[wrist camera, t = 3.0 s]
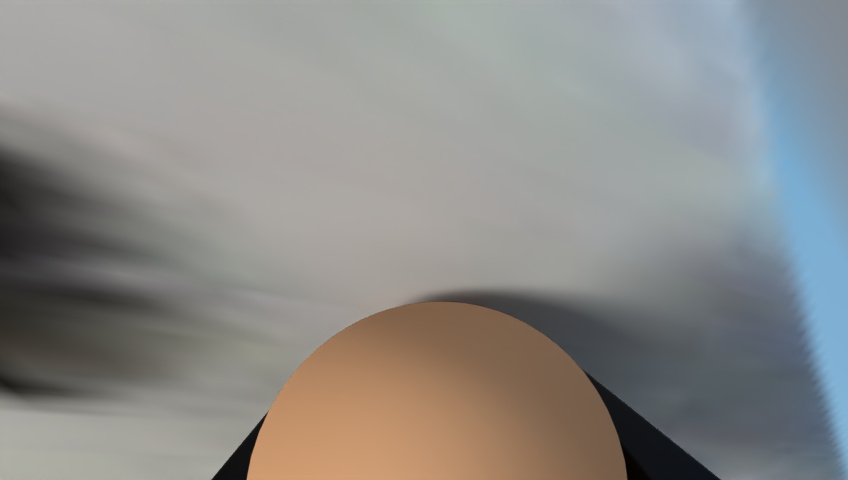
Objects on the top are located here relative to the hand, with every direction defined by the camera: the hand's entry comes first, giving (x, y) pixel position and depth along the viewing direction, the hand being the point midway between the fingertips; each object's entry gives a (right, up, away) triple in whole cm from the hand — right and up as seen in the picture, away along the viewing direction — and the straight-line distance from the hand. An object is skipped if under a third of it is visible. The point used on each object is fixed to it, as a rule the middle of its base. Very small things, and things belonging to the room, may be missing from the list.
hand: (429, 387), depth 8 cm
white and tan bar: (0, -4, +4) cm, 6 cm away
